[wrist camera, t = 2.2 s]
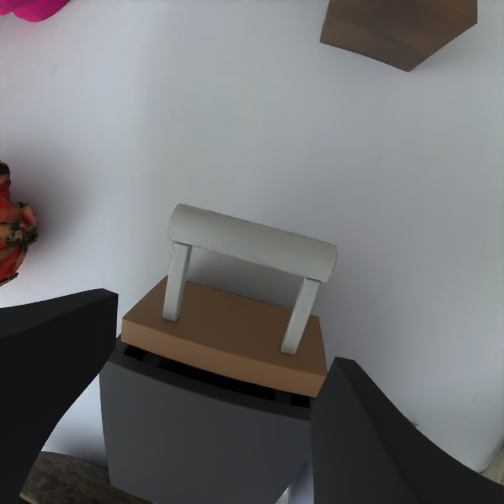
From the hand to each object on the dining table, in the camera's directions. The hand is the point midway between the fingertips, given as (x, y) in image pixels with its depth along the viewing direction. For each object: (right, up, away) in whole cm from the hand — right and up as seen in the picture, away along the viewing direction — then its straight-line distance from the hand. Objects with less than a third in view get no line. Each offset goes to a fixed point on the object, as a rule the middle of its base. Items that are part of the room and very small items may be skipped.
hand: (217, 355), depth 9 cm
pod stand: (+8, +15, +4) cm, 18 cm away
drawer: (0, -2, +8) cm, 9 cm away
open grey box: (-1, -6, +11) cm, 12 cm away
